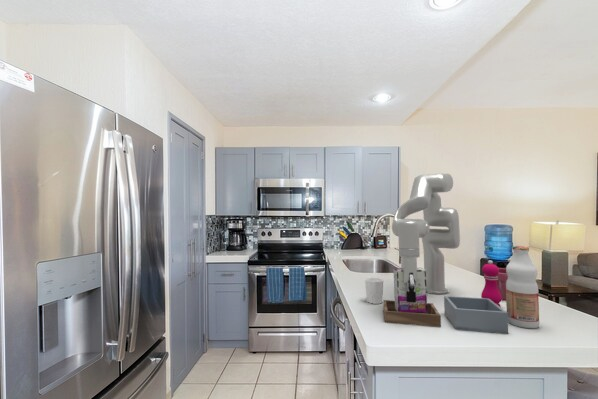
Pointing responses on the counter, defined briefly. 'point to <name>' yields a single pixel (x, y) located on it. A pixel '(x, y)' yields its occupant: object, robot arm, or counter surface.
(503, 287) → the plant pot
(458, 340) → the counter surface
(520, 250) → the fruit juice
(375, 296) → the white cup
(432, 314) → the wooden rectangular frame
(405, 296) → the snack bar box
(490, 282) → the pepper mill
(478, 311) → the slate bin
